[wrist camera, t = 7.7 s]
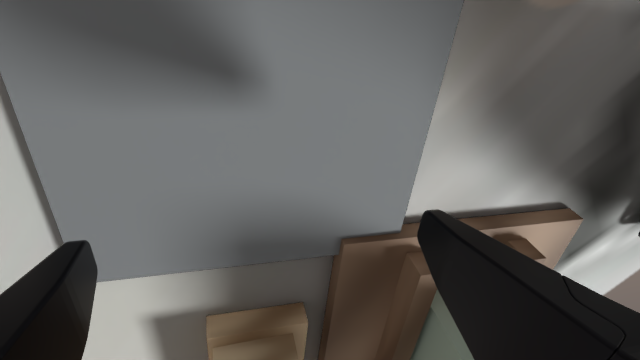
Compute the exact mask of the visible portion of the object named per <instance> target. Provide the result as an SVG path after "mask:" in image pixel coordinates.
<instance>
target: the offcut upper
mask: <svg viewBox="0 0 640 360" xmlns="http://www.w3.org/2000/svg"><path fill="white" fill-rule="evenodd" d="M213 360H298V355H297V350H296V345H295V340H294V336H293V333H291V334H285V335H279V336H274V337H268V338H263V339H258V340H252V341H247V342H242V343H236V344H231V345H226V346H220V347H215V348H213Z"/></svg>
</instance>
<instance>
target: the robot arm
mask: <svg viewBox="0 0 640 360" xmlns="http://www.w3.org/2000/svg"><path fill="white" fill-rule="evenodd" d="M638 236H639V237H640V232H639V235H638ZM417 239H418V242H419V245H420V247H421V250H422V253H423V255H424V258H425V260H426V263H427V265H428V268H429V270H430V273H431V275H432V278H433V280H434V283H435V285H436V287H437V289H438V291H439V293H440V295H441V297H442V299H443V301H444V303H445V305H446V307H447V309H448V310H449V312H450V314H451V316H452V318H453V320H454V322H455V324H456V326H457V328H458V330H459V332H460V333H461V335H462V337H463V339H464V341H465V343H466V345H467V347H468V349H469V351H470V353H471V354H472V356H473V358H474V360H640V313H638V312H636V311H634V310H632V309H629V308H627V307H625V306H623V305H621V304H619V303H617V302H615V301H613V300H610V299H608V298H606V297H604V296H602V295H600V294H598V293H596V292H594V291H592V290H590V289H588V288H587V287H585V286H583V285H581V284H579V283H577V282H575V281H573V280H571V279H569V278H568V277H566V276H561V274H560V273H558V272H556V271H554V270H552V269H550V268H549V267H547V266H545V265H543V264H541V263H539V262H537V261H535V260H533V259H532V258H530V257H528V256H526V255H524V254H522V253H520V252H518V251H516V250H515V249H513V248H511V247H509V246H507V245H505V244H503V243H501V242H499V241H498V240H496V239H494V238H492V237H490V236H488V235H486V234H484V233H482V232H481V231H479V230H477V229H475V228H473V227H471V226H469V225H467V224H465V223H464V222H462V221H460V220H458V219H456V218H454V217H452V216H450V215H449V214H447V213H445V212H443V211H441V210H427V211H425V212H424V213H423V216H422V219H421V222H420V225H419V229H418V232H417ZM97 275H98V269H97V264H96V261H95V258H94V255H93V252H92V248H91V245H90V243H89V242H88V241H86V240H77V241H68V242H65V243H64V244H63V245H61V246H60V247H59V248H58V249H56V250H55V251H54V252H53V253H51V254H50V255H49V256H48V257H46V258H45V259H44V260H43V261H41V262H40V263H39V264H38V265H37V266H35V267H34V268H33V269H32V270H30V271H29V272H28V273H27V274H25V275H24V276H23V277H22V278H20V279H19V280H18V281H17V282H15V283H14V284H13V285H12V286H10V287H9V288H8V289H7V290H6V291H4V292H3V293H2V294H1V295H0V360H81V359H82V356H83V353H84V349H85V345H86V341H87V337H88V332H89V326H90V320H91V313H92V307H93V301H94V295H95V288H96V282H97Z"/></svg>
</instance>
